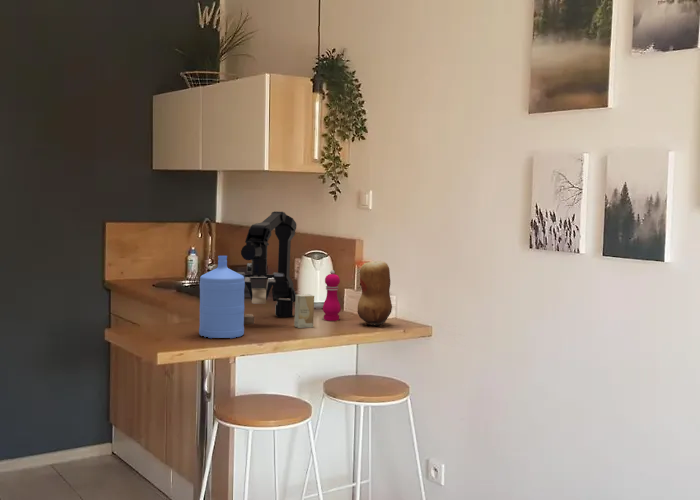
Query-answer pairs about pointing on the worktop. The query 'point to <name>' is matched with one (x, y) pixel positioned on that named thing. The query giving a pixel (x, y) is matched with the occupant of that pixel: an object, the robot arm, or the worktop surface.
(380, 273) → the butternut squash
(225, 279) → the water jug
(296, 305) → the skincare box
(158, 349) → the worktop surface
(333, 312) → the pepper mill
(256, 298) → the oak cube
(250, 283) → the robot arm
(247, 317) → the beige flat block
